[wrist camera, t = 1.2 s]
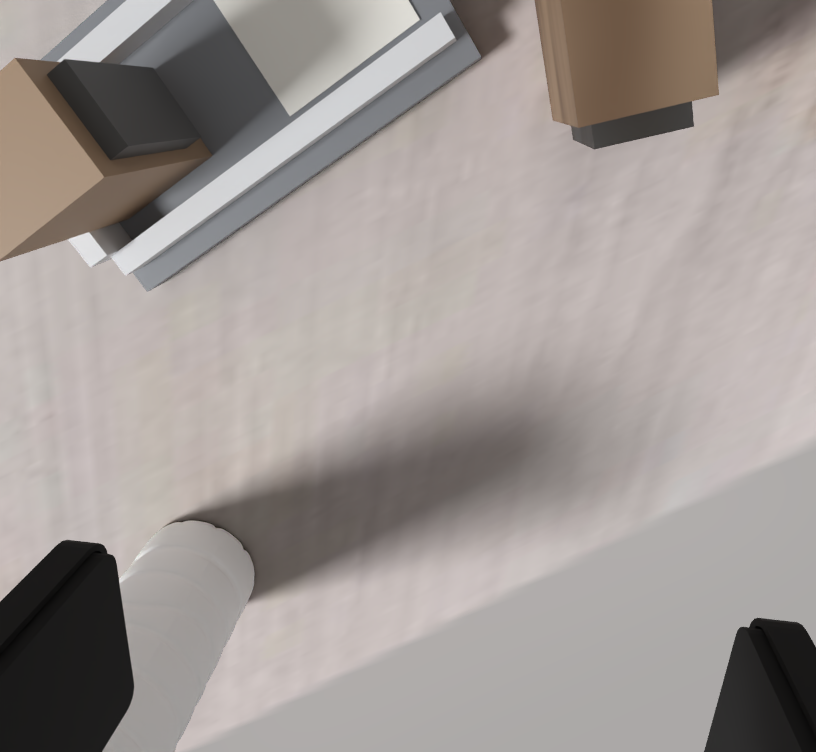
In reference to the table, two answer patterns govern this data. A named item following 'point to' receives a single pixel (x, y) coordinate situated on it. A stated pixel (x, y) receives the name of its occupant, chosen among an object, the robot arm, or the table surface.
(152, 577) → the water bottle
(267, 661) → the table surface
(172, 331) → the table surface
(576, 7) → the walnut finger
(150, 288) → the frame
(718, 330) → the table surface
